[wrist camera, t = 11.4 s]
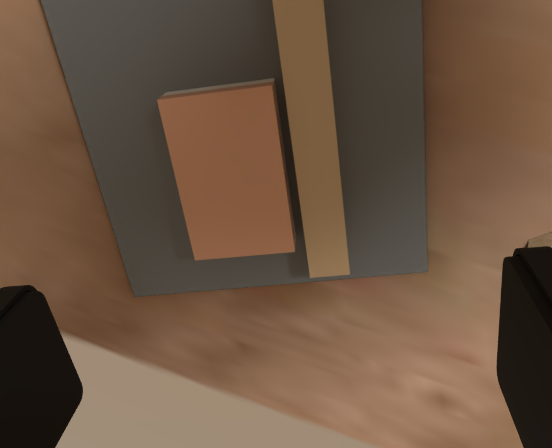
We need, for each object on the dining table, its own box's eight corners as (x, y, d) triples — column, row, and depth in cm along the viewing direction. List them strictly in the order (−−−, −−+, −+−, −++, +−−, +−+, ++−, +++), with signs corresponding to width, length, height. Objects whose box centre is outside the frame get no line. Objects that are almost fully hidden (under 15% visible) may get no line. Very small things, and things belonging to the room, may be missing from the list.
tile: (274, 78, 23) (166, 91, 24) (271, 85, 22) (157, 99, 22) (296, 236, 26) (201, 245, 27) (294, 251, 25) (194, 260, 26)
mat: (24, -69, 21) (2, -72, 20) (416, -141, 19) (424, -150, 18) (136, 292, 29) (127, 309, 28) (426, 268, 27) (432, 284, 26)
